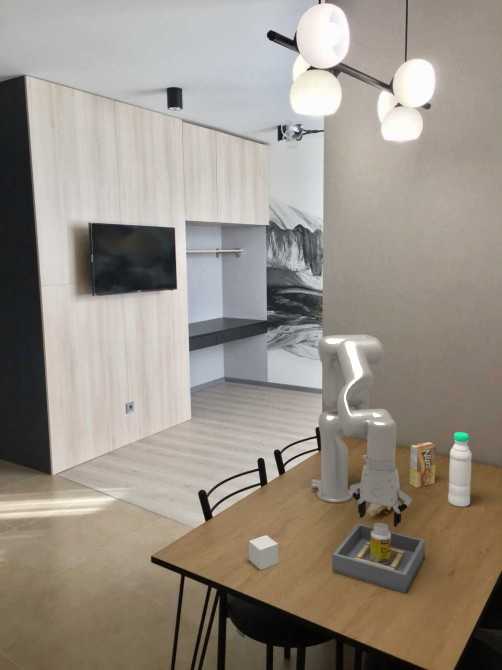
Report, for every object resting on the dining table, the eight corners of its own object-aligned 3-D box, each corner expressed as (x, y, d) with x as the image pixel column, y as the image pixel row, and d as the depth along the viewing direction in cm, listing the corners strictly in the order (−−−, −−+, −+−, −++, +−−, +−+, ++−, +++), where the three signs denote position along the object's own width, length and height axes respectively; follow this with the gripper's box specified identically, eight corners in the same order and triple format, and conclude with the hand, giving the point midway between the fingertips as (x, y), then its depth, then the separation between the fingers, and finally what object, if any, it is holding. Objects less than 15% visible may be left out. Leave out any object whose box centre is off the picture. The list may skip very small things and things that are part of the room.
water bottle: (444, 499, 193) (446, 430, 190) (463, 497, 194) (466, 429, 190) (453, 508, 187) (456, 437, 183) (473, 506, 187) (476, 436, 183)
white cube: (249, 560, 157) (248, 540, 156) (266, 554, 160) (266, 534, 160) (260, 570, 152) (260, 550, 151) (278, 563, 155) (277, 543, 155)
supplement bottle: (380, 567, 150) (380, 532, 149) (366, 558, 155) (366, 524, 153) (394, 561, 153) (395, 527, 152) (380, 552, 158) (381, 519, 156)
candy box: (427, 479, 210) (428, 441, 208) (435, 483, 206) (436, 444, 204) (409, 484, 206) (410, 445, 204) (417, 488, 203) (418, 448, 200)
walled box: (332, 571, 151) (332, 554, 150) (357, 538, 168) (358, 523, 167) (405, 593, 141) (405, 575, 140) (424, 556, 157) (424, 539, 157)
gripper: (345, 460, 151) (345, 518, 154) (408, 473, 142) (406, 534, 145) (355, 451, 158) (354, 507, 160) (416, 463, 149) (414, 522, 152)
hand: (379, 520), depth 153 cm, fingers open, 9 cm apart
